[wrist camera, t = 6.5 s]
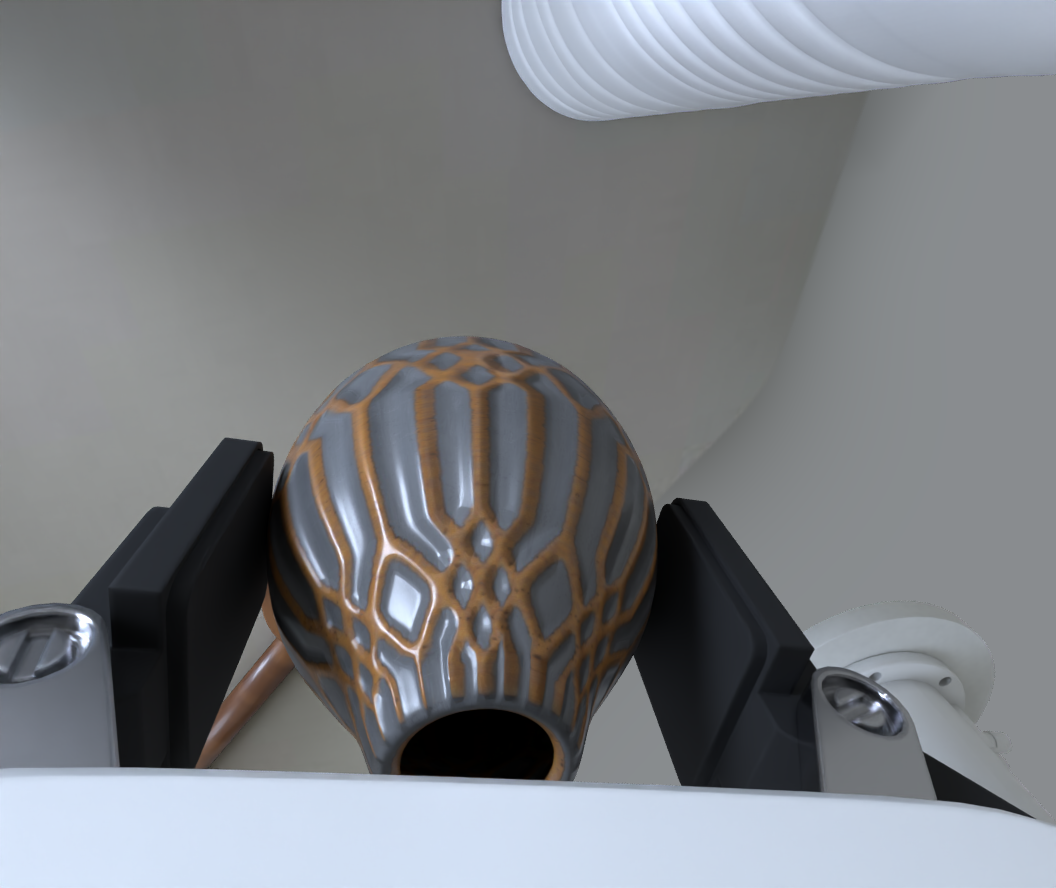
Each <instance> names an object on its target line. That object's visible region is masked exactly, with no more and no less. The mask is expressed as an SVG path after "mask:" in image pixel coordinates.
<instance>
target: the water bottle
mask: <svg viewBox="0 0 1056 888" xmlns="http://www.w3.org/2000/svg"><path fill="white" fill-rule="evenodd" d="M502 23H503V32H504V37H505V41H506V45H507V49H508V52H509V55H510V57H511V60H512V62H513V65H514V67H515V69H516V71H517V72H518V74H519V76H520V77H521V79H522V80H523V81H524V82H525V84H526V86H527V87H528V88H529V90H530V91H531V92H532V93H533V94H534V95H535V96H536V97H537V98H538V99H539V100H540V101H541V102H542V103H544V104H545V105H546V106H548V107H549V108H551V109H552V110H554V111H556V112H558V113H560V114H562V115H564V116H567V117H570V118H574V119H578V120H583V121H607V120H615V119H621V118H631V117H642V116H650V115H661V114H670V113H676V112H691V111H699V110H705V109H722V108H732V107H740V106H745V105H750V104H755V103H759V102H770V101H779V100H785V99H798V98H806V97H814V96H826V95H834V94H840V93H854V92H863V91H870V90H875V89H890V88H900V87H907V86H913V85H919V84H921V85H923V84H937V83H947V82H953V81H959V80H965V79H970V78H993V77H1008V76H1044V75H1056V0H502Z"/></svg>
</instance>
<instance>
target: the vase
mask: <svg viewBox="0 0 1056 888" xmlns="http://www.w3.org/2000/svg"><path fill="white" fill-rule="evenodd" d="M266 563H267V579H268V587H269V594H270V600H271V605H272V610H273V614H274V618H275V621H276V624H277V627H278V630H279V633H280V636H281V639H282V642H283V644H284V646H285V648H286V651H287V653H288V654H289V656H290V658H291V660H292V662H293V663H294V665H295V667H296V669H297V671H298V672H299V674H300V675H301V677H302V678H303V680H304V681H305V683H306V684H307V685H308V686H309V688H310V689H311V690H312V691H313V693H314V694H315V695H316V696H317V698H318V699H319V700H320V701H321V702H322V703H323V705H324V706H325V707H326V708H327V709H328V710H329V711H330V712H331V713H332V715H333V716H334V717H335V718H336V719H337V720H338V721H339V722H340V723H341V724H342V725H343V726H344V727H345V728H346V729H347V730H348V731H349V732H350V734H351V735H352V736H353V737H354V738H355V739H356V740H357V742H358V744H359V746H360V748H361V750H362V753H363V756H364V759H365V762H366V764H367V767H368V770H369V773H370V774H379V775H410V776H440V777H467V778H493V779H520V780H547V781H572V782H573V780H574V778H575V776H576V773H577V771H578V768H579V765H580V761H581V758H582V754H583V749H584V745H585V741H586V736H587V732H588V728H589V725H590V722H591V720H592V717H593V716H594V714H595V713H596V711H597V710H598V709H599V707H600V706H601V704H602V703H603V702H604V700H605V699H606V697H607V696H608V694H609V693H610V691H611V690H612V688H613V687H614V685H615V684H616V682H617V681H618V679H619V678H620V676H621V675H622V673H623V671H624V670H625V668H626V666H627V665H628V663H629V661H630V660H631V658H632V656H633V655H634V653H635V651H636V649H637V647H638V644H639V642H640V640H641V637H642V635H643V632H644V630H645V627H646V624H647V622H648V618H649V615H650V612H651V607H652V602H653V597H654V592H655V587H656V578H657V565H658V541H657V526H656V518H655V511H654V505H653V499H652V495H651V492H650V488H649V485H648V481H647V478H646V474H645V472H644V469H643V466H642V464H641V461H640V459H639V457H638V455H637V453H636V451H635V449H634V447H633V445H632V443H631V441H630V439H629V438H628V436H627V434H626V433H625V431H624V429H623V428H622V426H621V425H620V424H619V422H618V421H617V419H616V418H615V417H614V415H613V414H612V412H611V411H610V410H609V408H608V407H607V406H606V405H605V404H604V403H603V401H602V400H601V399H600V398H599V397H598V396H597V395H596V394H595V393H594V392H593V391H592V390H591V389H590V388H589V387H588V386H587V385H586V384H585V383H584V382H583V381H582V380H581V379H580V378H578V377H577V376H576V375H575V374H573V373H572V372H571V371H569V370H568V369H566V368H565V367H563V366H562V365H560V364H559V363H557V362H555V361H553V360H552V359H550V358H548V357H546V356H544V355H541V354H539V353H537V352H535V351H533V350H531V349H528V348H525V347H522V346H520V345H517V344H513V343H510V342H506V341H502V340H497V339H492V338H483V337H470V336H457V337H443V338H435V339H430V340H425V341H421V342H417V343H413V344H410V345H407V346H404V347H401V348H398V349H396V350H394V351H391V352H389V353H387V354H385V355H383V356H381V357H379V358H377V359H375V360H374V361H372V362H370V363H368V364H366V365H365V366H363V367H362V368H360V369H359V370H357V371H356V372H354V373H353V374H352V375H350V376H349V377H348V378H346V379H345V380H344V381H343V382H342V383H341V384H339V385H338V386H337V387H336V388H335V389H334V390H333V391H332V392H331V393H330V394H329V396H328V397H327V398H326V399H325V400H324V401H323V402H322V403H321V405H320V406H319V407H318V408H317V409H316V411H315V412H314V413H313V415H312V416H311V417H310V419H309V420H308V421H307V423H306V425H305V426H304V428H303V429H302V431H301V433H300V434H299V436H298V437H297V439H296V441H295V442H294V444H293V446H292V448H291V450H290V452H289V454H288V456H287V458H286V460H285V463H284V465H283V467H282V470H281V472H280V475H279V478H278V480H277V483H276V486H275V490H274V494H273V498H272V503H271V508H270V513H269V519H268V527H267V543H266Z"/></svg>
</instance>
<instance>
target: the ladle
mask: <svg viewBox="0 0 1056 888" xmlns="http://www.w3.org/2000/svg"><path fill="white" fill-rule="evenodd" d="M262 611H263V615H264V618H265V620H266V622H267V625H268V626H269V628H270V629H271V631H272V632H273V634H274V635H275V636H276V637H277V638H276V639H275V640H274V641H273V643H272V644H271V645H270V646H269V647H268V649H267V650H266V651H265V652H264V653H263V655H262V656H261V657H260V658H259V659H258V661H257V662H256V663H255V664H254V665H253V667H252V668H251V669H250V670H249V671H248V673H247V674H246V675H245V676H244V677H243V679H242V680H241V681H240V682H239V683H238V685H237V686H236V687H235V688H234V690H233V691H232V692H231V693H230V694H229V696H228V697H227V698H226V699H225V700H224V702H223V703H222V704H221V706H220V709H219V711H218V714H217V716H216V719H215V721H214V723H213V726H212V728H211V731H210V733H209V736H208V738H207V741H206V743H205V745H204V748H203V750H202V753H201V755H200V758H199V760H198V762H197V765H196V767H195V768H194V769H207V768H208V767H209V766H210V765H211V763H212V762H213V761H214V760H215V759H216V758H217V756H218V755H219V754H220V753H221V752H222V751H223V749H224V748H225V747H226V746H227V745H228V744H229V742H230V741H231V740H232V739H233V738H234V737H235V735H236V734H237V733H238V732H239V731H240V730H241V729H242V727H243V726H244V725H245V724H246V723H247V722H248V720H249V719H250V718H251V717H252V716H253V715H254V713H255V712H256V711H257V710H258V709H259V708H260V706H261V705H262V704H263V703H264V702H265V701H266V699H267V698H268V697H269V696H270V695H271V694H272V692H273V691H274V690H275V689H276V688H277V687H278V685H279V684H280V683H281V682H282V681H283V680H284V678H285V677H286V676H287V675H288V674H289V673H290V671H291V670H292V669H293V668H294V667H295V665H294V663H293V662H292V660H291V658H290V656H289V654H288V653H287V651H286V648H285V646H284V644H283V642H282V639H281V636H280V633H279V630H278V627H277V624H276V621H275V618H274V614H273V610H272V605H271V600H270V594H269V587H268V584H267V590H266V595H265V598H264V601H263V604H262Z"/></svg>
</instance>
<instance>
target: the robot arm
mask: <svg viewBox="0 0 1056 888" xmlns="http://www.w3.org/2000/svg"><path fill="white" fill-rule="evenodd" d="M273 470H274V454H273V452H267V451H263V446H262V443H261V442H255V441H248V440H240V439H233V438H224V439H223V440H222V442H221V443H220V444H219V445H218V447H217V448H216V449H215V451H214V452H213V453H212V454H211V456H210V457H209V458H208V460H207V461H206V462H205V463H204V465H203V466H202V467H201V468H200V470H199V471H198V472H197V474H196V475H195V476H194V477H193V479H192V480H191V481H190V483H189V484H188V485H187V486H186V488H185V489H184V490H183V492H182V493H181V494H180V495H179V497H178V498H177V499H176V501H175V502H174V503H173V504H172V506H171V507H170V508H166V507H153V508H152V509H150V510H149V511H148V512H147V513H146V514H145V516H144V517H143V518H142V519H141V520H140V522H139V523H138V524H137V525H136V526H135V528H134V529H133V530H132V531H131V532H130V534H129V535H128V536H127V537H126V538H125V540H124V541H123V542H122V543H121V544H120V546H119V547H118V548H117V549H116V550H115V552H114V553H113V554H112V555H111V556H110V558H109V559H108V560H107V561H106V562H105V564H104V565H103V566H102V567H101V568H100V570H99V571H98V572H97V573H96V574H95V576H94V577H93V578H92V579H91V580H90V582H89V583H88V584H87V585H86V586H85V588H84V589H83V590H82V591H81V592H80V594H79V595H78V596H77V597H76V599H75V600H74V601H73V602H72V603H71V604H63V603H49V604H38V605H31V606H27V607H23V608H19V609H15V610H11V611H8V612H5V613H3V614H0V888H1056V821H1055V820H1054V819H1053V818H1052V816H1051V815H1050V814H1049V813H1048V812H1047V811H1046V810H1045V808H1044V807H1043V806H1042V805H1041V804H1040V803H1039V802H1038V801H1037V800H1036V799H1035V798H1034V796H1033V795H1032V794H1031V793H1030V792H1029V791H1028V790H1027V789H1026V788H1025V786H1024V785H1023V784H1022V783H1021V782H1020V781H1019V780H1018V779H1017V778H1016V777H1015V775H1014V774H1013V773H1012V772H1011V770H1010V766H1009V764H1008V763H1007V761H1006V759H1005V758H1004V757H1002V756H1001V755H1000V754H997V753H1004V754H1007V753H1009V752H1010V751H1011V749H1012V743H1011V740H1010V738H1009V737H1008V735H1006V734H1005V733H1003V732H992V731H983V732H982V731H981V730H980V729H979V728H978V727H977V726H976V725H975V723H974V722H973V721H972V720H971V719H970V718H969V717H968V716H967V715H966V714H965V713H964V711H963V710H964V707H965V692H964V689H963V685H962V683H961V682H960V680H959V679H958V677H957V676H956V675H955V674H954V673H953V672H952V671H951V670H950V669H949V668H948V667H947V666H946V665H945V664H944V663H943V662H941V661H940V660H938V659H936V658H934V657H932V656H929V655H925V654H921V653H913V652H896V653H886V654H881V655H877V656H873V657H869V658H866V659H863V660H861V661H858V662H855V663H853V664H851V665H849V666H847V667H845V668H842V667H832V666H827V667H823V668H819V669H816V667H815V666H814V665H813V663H812V662H811V660H810V658H811V656H812V654H813V652H814V650H815V649H814V647H813V646H812V645H811V643H810V642H809V641H808V639H807V638H806V636H805V635H804V634H803V632H802V631H801V630H800V628H799V627H798V626H797V624H796V623H795V621H794V620H793V619H792V617H791V616H790V615H789V613H788V612H787V610H786V609H785V608H784V606H783V605H782V604H781V602H780V601H779V600H778V598H777V597H776V596H775V594H774V593H773V591H772V590H771V589H770V587H769V586H768V585H767V583H766V582H765V581H764V579H763V578H762V576H761V575H760V574H759V573H758V571H757V570H756V568H755V567H754V565H753V564H752V563H751V561H750V560H749V559H748V558H747V556H746V554H745V553H744V552H743V550H742V549H741V548H740V546H739V545H738V544H737V542H736V541H735V539H734V538H733V537H732V535H731V534H730V533H729V531H728V530H727V529H726V527H725V526H724V524H723V523H722V522H721V520H720V519H719V518H718V516H717V515H716V514H715V512H714V511H713V510H712V508H711V507H710V505H709V504H708V503H707V502H705V501H697V500H689V499H682V498H676V499H675V500H673V502H672V503H671V504H666V505H664V506H663V508H662V510H661V512H660V515H659V518H658V521H657V524H656V526H657V541H658V565H657V578H656V587H655V592H654V597H653V602H652V607H651V612H650V615H649V618H648V622H647V624H646V627H645V630H644V632H643V635H642V637H641V640H640V642H639V644H638V647H637V649H636V651H635V653H634V658H635V660H636V663H637V666H638V669H639V671H640V674H641V677H642V680H643V682H644V685H645V688H646V690H647V693H648V696H649V699H650V702H651V704H652V707H653V710H654V712H655V715H656V718H657V721H658V724H659V726H660V729H661V732H662V734H663V737H664V740H665V743H666V745H667V748H668V751H669V754H670V757H671V759H672V762H673V765H674V768H675V770H676V773H677V776H678V779H679V781H680V783H681V785H682V786H670V785H647V784H623V783H621V784H620V783H597V782H572V781H547V780H520V779H493V778H467V777H440V776H410V775H379V774H348V773H318V772H287V771H256V770H221V769H194V768H195V767H196V765H197V762H198V760H199V758H200V755H201V753H202V750H203V748H204V745H205V743H206V741H207V738H208V736H209V733H210V731H211V728H212V726H213V723H214V721H215V719H216V716H217V714H218V711H219V709H220V706H221V704H222V702H223V699H224V697H225V694H226V692H227V689H228V687H229V684H230V682H231V680H232V677H233V675H234V672H235V670H236V667H237V665H238V663H239V660H240V658H241V655H242V653H243V650H244V648H245V645H246V643H247V641H248V638H249V636H250V633H251V631H252V628H253V626H254V624H255V621H256V619H257V616H258V614H259V611H260V609H261V606H262V604H263V601H264V598H265V595H266V590H267V584H268V579H267V563H266V543H267V527H268V519H269V513H270V508H271V503H272V490H273Z"/></svg>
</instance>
